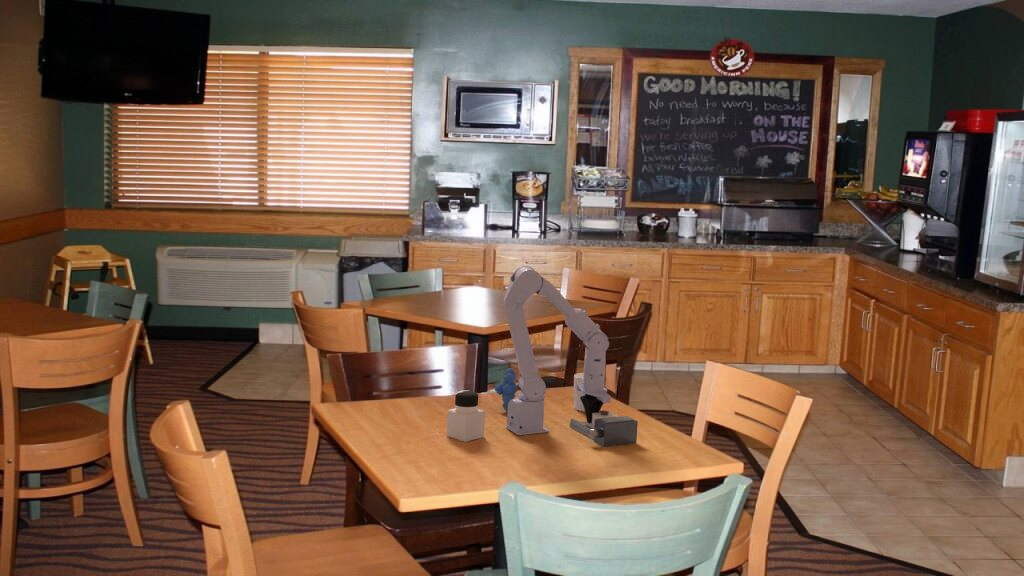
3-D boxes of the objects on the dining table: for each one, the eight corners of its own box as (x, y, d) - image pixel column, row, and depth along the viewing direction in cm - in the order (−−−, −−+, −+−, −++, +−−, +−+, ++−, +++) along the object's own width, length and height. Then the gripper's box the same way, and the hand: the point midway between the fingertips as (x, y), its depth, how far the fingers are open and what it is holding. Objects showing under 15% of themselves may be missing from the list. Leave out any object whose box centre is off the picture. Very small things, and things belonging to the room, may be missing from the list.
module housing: (593, 448, 247) (595, 424, 246) (557, 428, 264) (558, 405, 263) (636, 443, 253) (637, 419, 252) (598, 423, 270) (599, 401, 269)
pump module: (601, 436, 254) (602, 415, 253) (590, 431, 259) (592, 410, 258) (617, 434, 256) (618, 413, 256) (606, 429, 261) (608, 408, 260)
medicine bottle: (484, 437, 253) (486, 392, 251) (465, 442, 248) (466, 396, 246) (465, 431, 258) (467, 387, 256) (445, 436, 253) (447, 391, 251)
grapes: (495, 403, 287) (497, 363, 285) (518, 404, 287) (520, 365, 285) (491, 413, 276) (493, 372, 274) (515, 415, 275) (517, 374, 273)
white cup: (589, 414, 280) (591, 380, 278) (567, 408, 284) (568, 375, 283) (604, 409, 286) (606, 376, 285) (581, 404, 291) (583, 371, 289)
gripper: (621, 378, 257) (618, 428, 259) (592, 366, 270) (590, 414, 271) (598, 380, 254) (595, 430, 255) (570, 368, 266) (568, 416, 268)
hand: (591, 422), depth 263 cm, fingers closed
